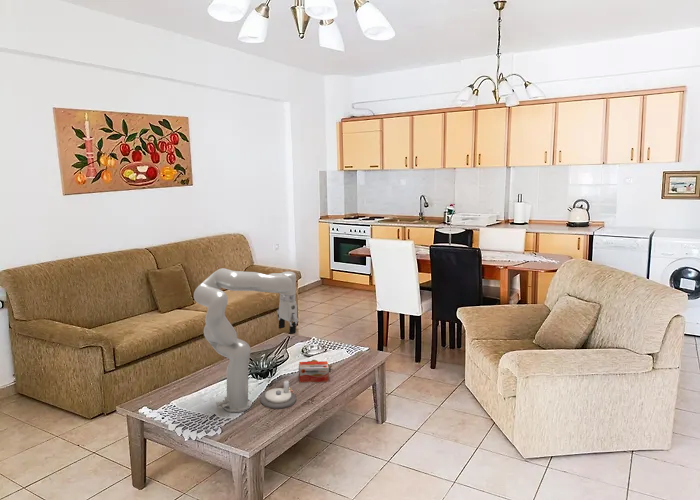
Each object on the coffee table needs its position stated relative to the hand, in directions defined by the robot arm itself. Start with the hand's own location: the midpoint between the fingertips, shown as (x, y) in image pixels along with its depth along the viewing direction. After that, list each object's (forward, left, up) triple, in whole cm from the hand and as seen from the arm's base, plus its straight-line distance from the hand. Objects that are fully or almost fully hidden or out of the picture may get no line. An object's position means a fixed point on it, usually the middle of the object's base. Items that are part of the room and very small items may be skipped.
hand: (287, 330), depth 252 cm
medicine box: (+15, -2, -29) cm, 33 cm away
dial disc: (-11, -12, -27) cm, 31 cm away
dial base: (-12, -12, -28) cm, 33 cm away
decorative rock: (+24, +6, -29) cm, 38 cm away
